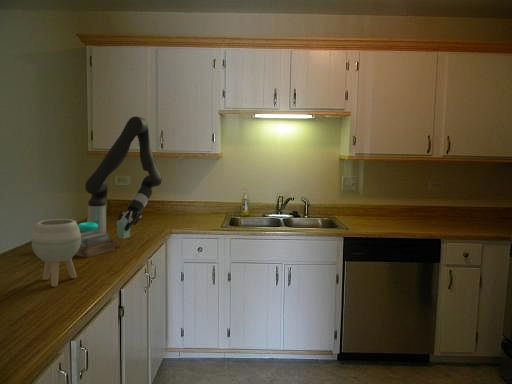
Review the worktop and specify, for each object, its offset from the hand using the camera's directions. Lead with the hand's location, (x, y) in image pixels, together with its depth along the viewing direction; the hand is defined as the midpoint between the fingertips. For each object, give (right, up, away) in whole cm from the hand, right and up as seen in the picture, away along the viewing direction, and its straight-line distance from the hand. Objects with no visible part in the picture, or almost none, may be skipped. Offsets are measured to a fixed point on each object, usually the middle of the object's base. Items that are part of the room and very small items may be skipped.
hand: (121, 229), depth 197 cm
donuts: (-21, -8, +8) cm, 24 cm away
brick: (0, -4, +2) cm, 4 cm away
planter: (-5, -14, -54) cm, 56 cm away
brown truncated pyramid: (-13, -10, -10) cm, 19 cm away
